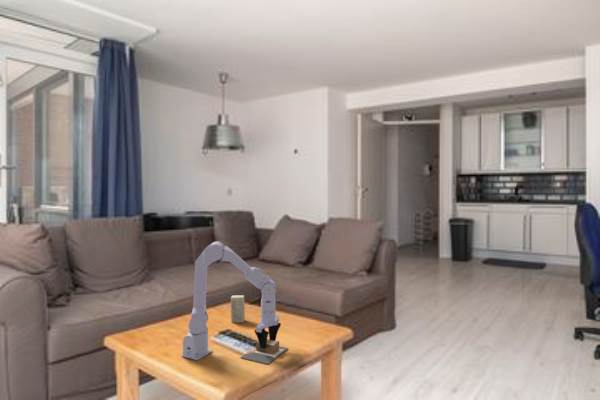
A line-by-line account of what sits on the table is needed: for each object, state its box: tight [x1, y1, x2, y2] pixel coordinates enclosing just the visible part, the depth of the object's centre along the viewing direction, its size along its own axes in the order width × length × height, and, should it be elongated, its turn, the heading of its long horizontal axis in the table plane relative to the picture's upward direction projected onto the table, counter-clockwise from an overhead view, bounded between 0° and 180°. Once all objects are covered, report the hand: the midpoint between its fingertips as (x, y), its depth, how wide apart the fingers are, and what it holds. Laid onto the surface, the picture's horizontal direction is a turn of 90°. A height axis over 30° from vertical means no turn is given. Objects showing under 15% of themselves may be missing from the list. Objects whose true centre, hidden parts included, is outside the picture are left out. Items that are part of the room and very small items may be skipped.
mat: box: [240, 345, 289, 366], centre depth 159 cm, size 16×12×1 cm
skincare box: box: [230, 294, 246, 324], centre depth 196 cm, size 6×4×12 cm
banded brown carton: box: [255, 338, 280, 355], centre depth 161 cm, size 8×4×4 cm, turn 64°
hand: (267, 344), depth 161 cm, fingers open, 7 cm apart
